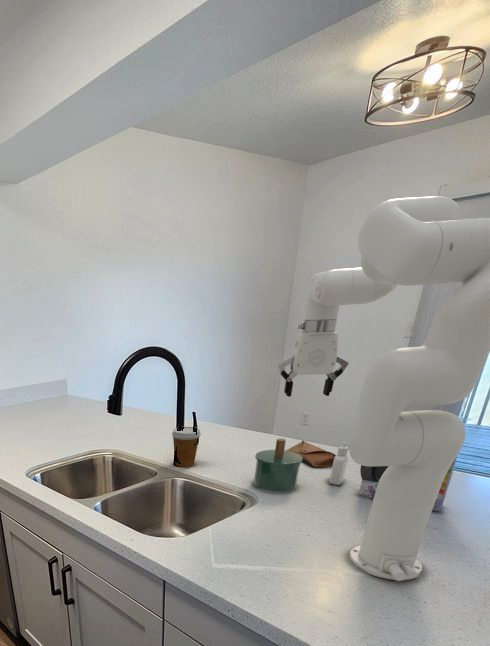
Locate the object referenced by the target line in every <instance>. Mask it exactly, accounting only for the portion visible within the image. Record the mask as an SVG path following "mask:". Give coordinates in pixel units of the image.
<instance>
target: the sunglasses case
mask: <svg viewBox="0 0 490 646" xmlns="http://www.w3.org/2000/svg"><path fill="white" fill-rule="evenodd" d="M285 451H290V452H294V453H297V454H299V455H301V456H302V458H303V460H302V462H303V463H304V464H307V465H309V466H311V467H314V468H330V467H331V468H332V466H333V462H334V458H335V456H336V455H337V454H336V453H333V452H331V451H327V450H326V449H323V448H321V447H319V446H316V445H314V444H311V443H309V442H307V441H305V440H303V439H302V440H301V441H300V442H298V443H296V444H295V445H294V446H291V447H290V448H288V449H286V450H285Z"/></svg>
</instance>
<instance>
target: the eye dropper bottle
mask: <svg viewBox="0 0 490 646" xmlns="http://www.w3.org/2000/svg"><path fill="white" fill-rule="evenodd" d="M348 452H349V446H347V442H342V445H340V446H339V447H338V448H337V454H335V455H336V456H335V458H334V462H333V466H332V467H331V471H330V476H329V479H328V480H329V481H328V482H329V484H330V485H336V486H340V485H341V484H343V482H344V477H345V474H346V469H347V465H348V461H349V457H348Z"/></svg>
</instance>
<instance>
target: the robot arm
mask: <svg viewBox="0 0 490 646" xmlns="http://www.w3.org/2000/svg"><path fill="white" fill-rule="evenodd" d="M357 246H358V250H359V253H360V255H361V257H360V266H361V267H349V268H348V267H347V268H336V269H330V270H326V271H322V272H317V273H314V274H313V275H312V276H311V278H310V281H309V286H308V291H307V298H306V306H305V311H304V316H303V317H304V318H303V321H302V322H298V323H296V329H297V330H301V333H298V336H297V338H296V341H295V345H294V349H293V354H292V356H291V357H288V358H287V359H285V360H283V361H281V362H278V364H277V365H276V366H277V369H278V372H279V374H280V375H281V377H282V378H283V379H284V380H285V383H284V391H283V393H284V394H285V396H286V397H288V398H289V397H292V393H293V387H294V382H293V380H294V378H296V376H297V375H299V376H300V375H301V376H302V375H303V376H304V375H310V376H311V375H326V377H327V378H326V379H324V380H325V381H324V386H323V391H322V395H324V396H326V397H329V396H330V394H331V393H332V391H333V388H334V384H335V383H334V382H335V381H336V380H337V378H339V377H340V376H342V374H343V373H344V371H345V370H346V368H347V367H348V366H349V362H348V360H345V359H343V358H341V357H339V356H338V349H339V333H338V332H337V331H336V332H335V330H336V326H337V320H338V316H339V311H340V306H348V305H350V306H351V305H352V306H353V305H366V304H370V303H373V302H376V301H378V300H380V299H382V298H383V297H385V296H387V295H388V294H390V293H392V292H393V291H394V290H395V289H396V288H397V287H398V286H422V285H423V286H424V285H437V284H438V285H439V284H451V283H461V284H462V285H461V286H460V287H459V288H457V290H455V291H454V292H453V293H452V294H451V295H450V296H449V297H448V298H447V299H446V301H444V303H443V304H442V305H441V306H440V307H439V309H438V310H437V311H436V313H435V315H434V317H433V319H432V322H431V325H430V328H429V332H428V334H427V336H426V338H425V341H424V342H423V344H422V345H421V346H410V347H399V348H394V349H391V350H388V351H386V352H384V353H383V354H381V355H380V356H379V357H377V358H376V359H375V360H374V362H373V363H372V365H371V366H370V367H369V370H368V371H367V373H366V375H365V378H364V382H363V385H362V388H361V392H360V396H359V399H358V403H357V406H356V411H355V414H354V418H353V421H352V425H351V428H350V432H349V433H350V434H349V437H348V452H349V455H350V458H352V459H351V460H353V462H355V463H356V464H357V465H360V466H361V465H363V466H389V467H388V468H387V469H386V470H385V472H384V473H383V475H382V476H381V478H380V480H379V482H378V485H377V489H376V492H375V496H374V498H372V504H371V507H370V510H369V514H368V518H367V520H366V521H367V522H366V525H365V529H364V533H363V536H362V540H361V544H359V545H356V546H354V547H353V548H352V549H350V551H349V559H350V561H351V562H352V563H353V564H354V565H355V566H356V567H358V568H359V569H361V570H363V571H364V572H365V573H367V574H369V575H371V576H374V577H377V578H381V579H384V580H385V579H386V580H391V581H397V582H402V581H407V580H412V579H416V578H418V577H419V576H420V574H421V573H422V571H423V564H422V563H421V561H420V560H419V559H418V558H417V556H418V553H419V550H420V547H421V544H422V541H423V538H424V535H425V532H426V529H427V526H428V524H429V520H430V517H431V516H432V513H433V510H432V509H433V507H434V504H435V501H436V499H437V496H438V493H439V490H440V487H441V485H442V482H443V480H444V478H445V475H446V474H447V472H448V470H449V468H450V466H451V464H452V463H453V461H454V460H455V458H456V457H457V458H458V456H457V455H459V453H460V452H461V451H462V448H463V446H464V443H465V440H466V433H467V432H466V427H465V424H464V422H463V420H462V419H461V418H460V417H459V415H456V414H454V413H452V412H450V411H446V410H440V409H439V410H438V409H425V410H408V411H407V410H406V411H403V410H404V408H408V407H409V408H410V407H426V406H427V407H428V406H443V405H451V404H455V403H458V402H460V401H463V400H464V399H466V398H467V397H468V396H469V395H470V394H471V392H472V391H473V390H474V388H475V386H476V384H477V382H478V380H479V378H480V375H481V373H482V370H483V368H484V366H485V363H486V360H487V359H488V356H489V353H490V217H477V218H462V209H461V207H460V205H459V203H458V202H456V201H455V200H453V199H452V198H450V197H447V196H444V195H443V196H441V195H440V196H439V195H431V196H418V197H417V196H416V197H415V196H414V197H401V198H392V199H391V198H390V199H388V200H384V201H382V202H381V203H379V204H378V205H376V206H374V208H373V209H372V210H371V211H370V212H369V213H368V215H367V216H366V217H365V218H364V220H363V222H362V224H361V227H360V230H359V233H358V238H357ZM337 364H338V365H339V366H338V368H337V369H336V366H337ZM289 365H290V371H289V372H287V371H286V367H287V366H289Z"/></svg>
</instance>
